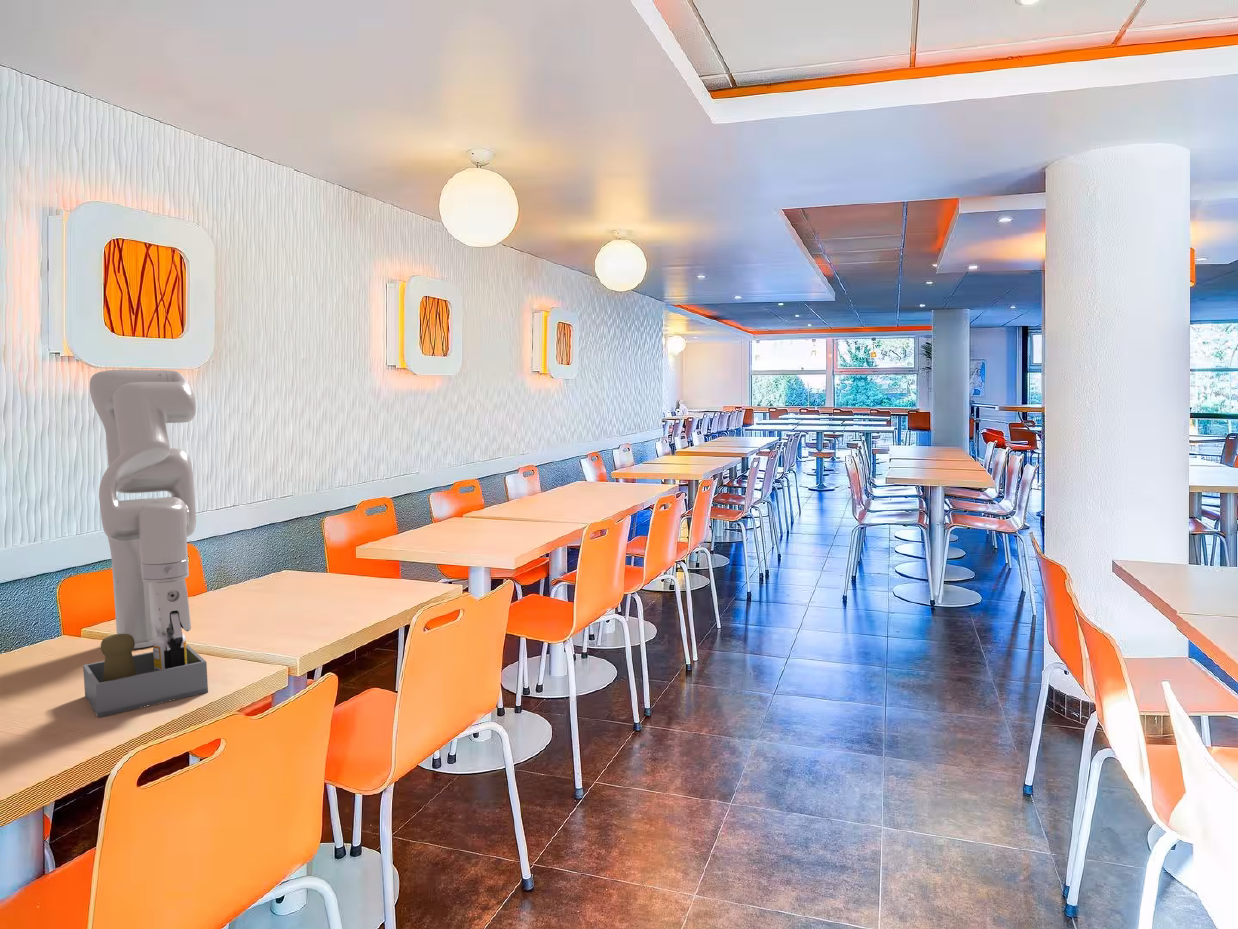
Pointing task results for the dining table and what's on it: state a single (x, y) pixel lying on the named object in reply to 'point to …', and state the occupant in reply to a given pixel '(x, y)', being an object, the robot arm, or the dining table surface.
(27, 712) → the dining table surface
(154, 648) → the supplement bottle
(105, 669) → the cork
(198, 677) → the tote
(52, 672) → the dining table surface
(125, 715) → the dining table surface
